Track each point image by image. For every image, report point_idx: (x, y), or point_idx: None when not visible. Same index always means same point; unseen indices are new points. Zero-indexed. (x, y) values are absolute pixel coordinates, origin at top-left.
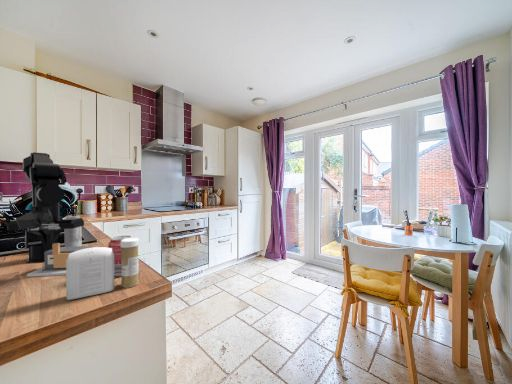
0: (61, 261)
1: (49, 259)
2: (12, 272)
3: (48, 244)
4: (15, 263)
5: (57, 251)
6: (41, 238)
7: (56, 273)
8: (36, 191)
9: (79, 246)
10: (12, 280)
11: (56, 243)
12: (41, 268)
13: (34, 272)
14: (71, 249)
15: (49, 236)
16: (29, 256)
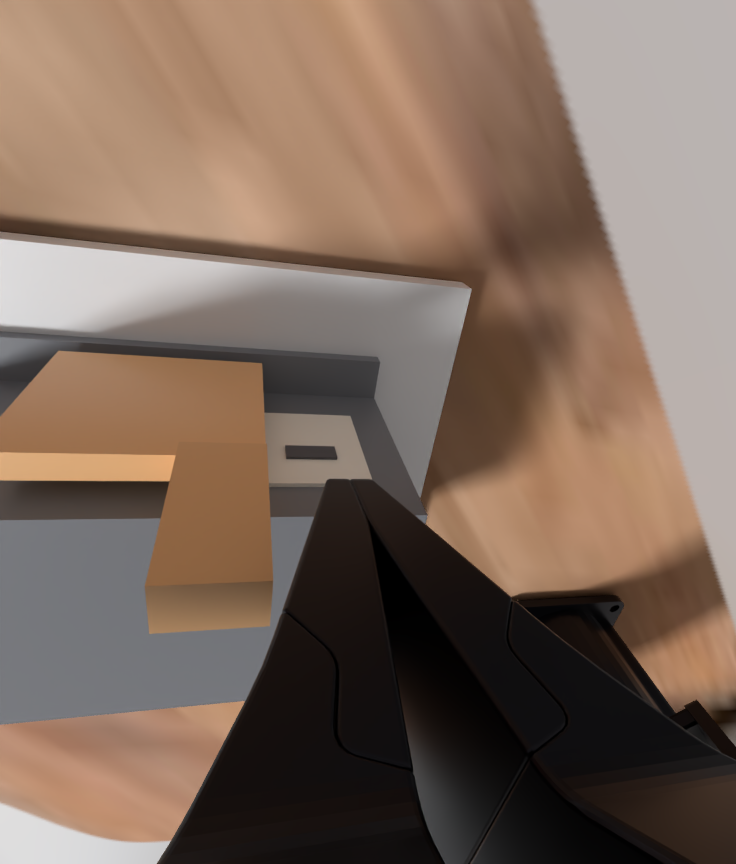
0: (157, 393)
1: (338, 445)
2: (622, 427)
3: (324, 540)
4: (667, 590)
5: (182, 470)
6: (525, 654)
7: (165, 254)
8: None
9: (97, 711)
10: (543, 214)
11: (204, 608)
12: (424, 435)
13: (428, 334)
14: (86, 599)
15: (279, 739)
16: (623, 646)
